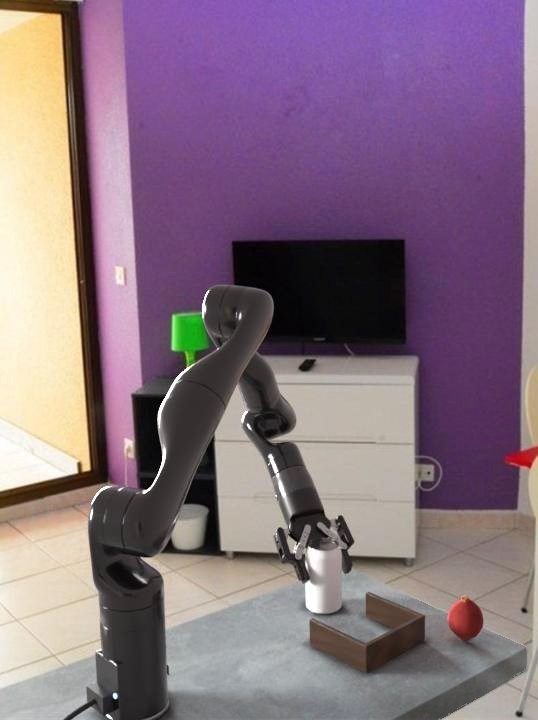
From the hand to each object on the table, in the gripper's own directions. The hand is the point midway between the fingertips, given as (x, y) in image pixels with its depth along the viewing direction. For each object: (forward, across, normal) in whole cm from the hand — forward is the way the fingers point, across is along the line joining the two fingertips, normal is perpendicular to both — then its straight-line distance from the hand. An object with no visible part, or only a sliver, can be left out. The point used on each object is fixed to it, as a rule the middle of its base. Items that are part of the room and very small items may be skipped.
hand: (327, 576), depth 161 cm
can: (+4, 0, +6) cm, 7 cm away
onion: (+19, +15, -10) cm, 26 cm away
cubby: (+14, 0, -5) cm, 15 cm away
